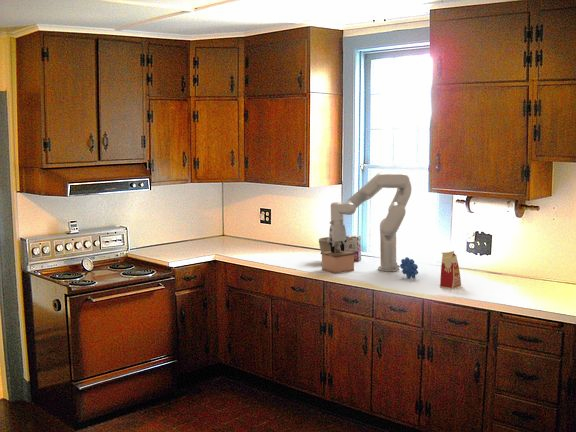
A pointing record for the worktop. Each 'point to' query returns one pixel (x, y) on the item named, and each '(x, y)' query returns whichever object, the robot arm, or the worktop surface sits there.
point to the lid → (337, 252)
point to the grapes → (409, 267)
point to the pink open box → (338, 264)
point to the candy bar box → (354, 246)
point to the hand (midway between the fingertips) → (337, 251)
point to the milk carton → (450, 271)
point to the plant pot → (325, 244)
